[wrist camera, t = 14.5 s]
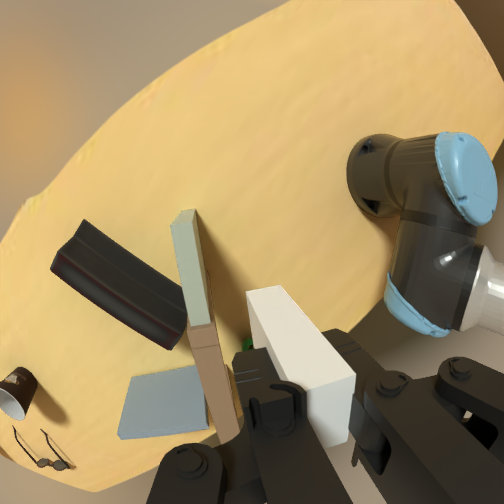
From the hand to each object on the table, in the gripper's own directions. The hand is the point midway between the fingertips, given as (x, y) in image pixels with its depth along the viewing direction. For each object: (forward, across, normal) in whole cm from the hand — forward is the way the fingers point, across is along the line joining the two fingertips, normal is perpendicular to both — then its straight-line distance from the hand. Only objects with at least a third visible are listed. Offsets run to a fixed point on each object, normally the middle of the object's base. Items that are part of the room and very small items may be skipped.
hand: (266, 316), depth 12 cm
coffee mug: (+33, +50, +24) cm, 64 cm away
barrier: (+33, +16, +6) cm, 37 cm away
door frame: (+32, +4, +17) cm, 37 cm away
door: (+32, +14, +26) cm, 43 cm away
